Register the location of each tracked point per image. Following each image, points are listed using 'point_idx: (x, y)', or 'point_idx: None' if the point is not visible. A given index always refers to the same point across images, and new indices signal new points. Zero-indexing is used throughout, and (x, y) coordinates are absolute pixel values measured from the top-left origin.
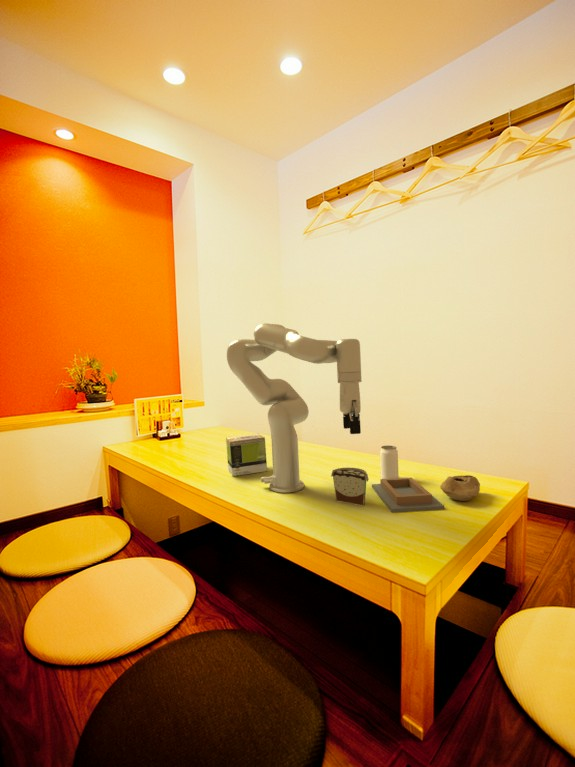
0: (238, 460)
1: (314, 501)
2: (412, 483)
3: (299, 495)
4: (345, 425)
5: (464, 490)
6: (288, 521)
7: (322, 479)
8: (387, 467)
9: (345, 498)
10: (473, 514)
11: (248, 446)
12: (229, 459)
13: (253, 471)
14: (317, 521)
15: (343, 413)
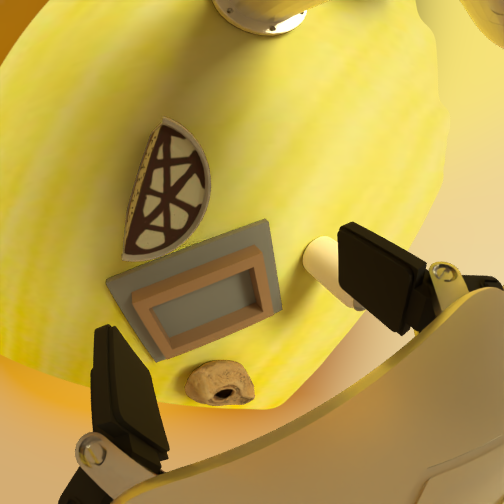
0: None
1: (144, 71)
2: (241, 319)
3: (193, 26)
4: (353, 247)
5: (192, 395)
6: (19, 53)
7: (321, 87)
8: (322, 267)
9: (142, 162)
10: None
11: None
12: None
13: None
14: (19, 119)
15: (457, 275)
